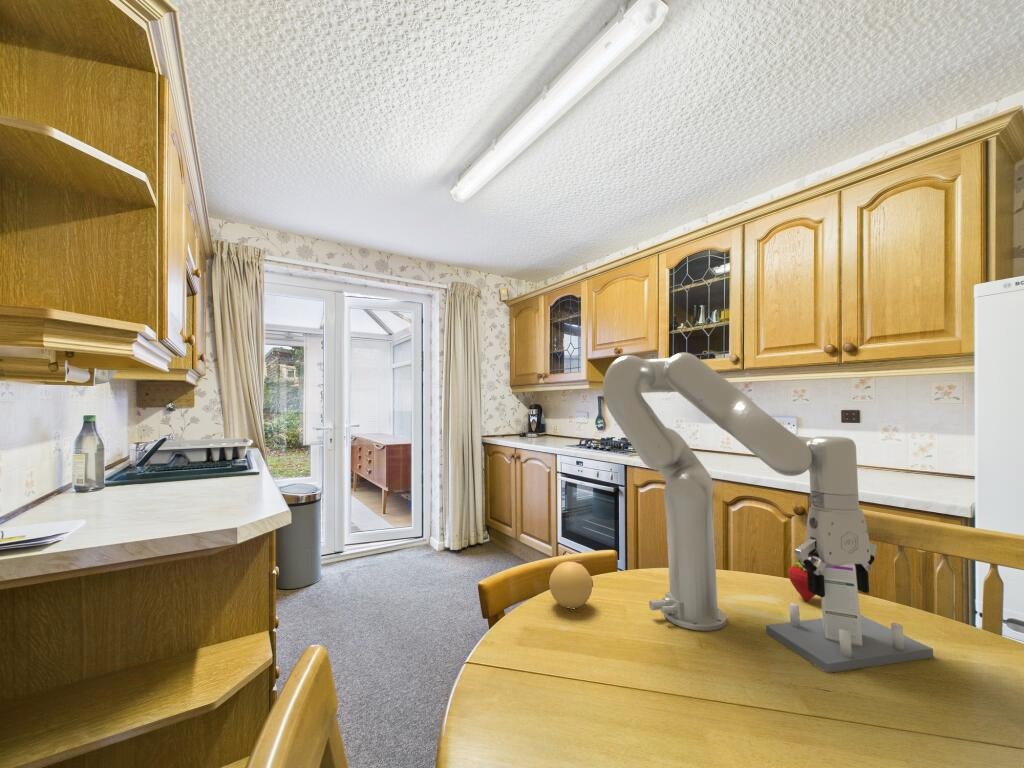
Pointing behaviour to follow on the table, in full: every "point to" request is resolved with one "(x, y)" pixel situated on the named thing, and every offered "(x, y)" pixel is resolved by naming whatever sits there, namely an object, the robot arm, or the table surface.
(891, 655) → the plate
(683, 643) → the table surface
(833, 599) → the syrup box
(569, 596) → the stress ball
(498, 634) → the table surface
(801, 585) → the strawberry
